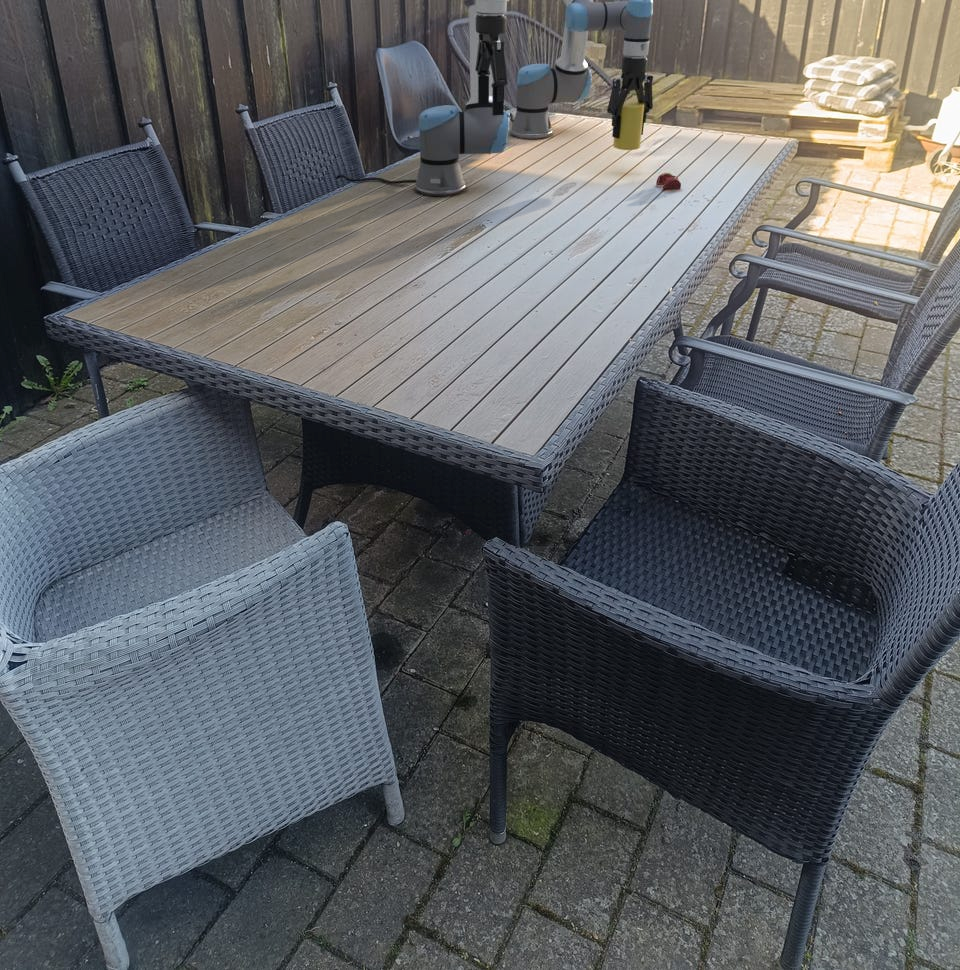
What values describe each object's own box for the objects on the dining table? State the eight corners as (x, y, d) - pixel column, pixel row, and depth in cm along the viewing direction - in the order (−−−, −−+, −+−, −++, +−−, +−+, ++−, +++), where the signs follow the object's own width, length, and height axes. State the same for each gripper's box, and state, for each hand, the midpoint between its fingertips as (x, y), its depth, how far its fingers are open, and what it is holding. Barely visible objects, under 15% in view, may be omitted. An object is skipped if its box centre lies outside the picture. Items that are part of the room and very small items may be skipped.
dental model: (672, 169, 261) (683, 176, 255) (671, 183, 263) (682, 190, 257) (655, 171, 260) (666, 178, 254) (654, 185, 262) (665, 192, 256)
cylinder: (609, 148, 267) (613, 105, 259) (618, 142, 273) (622, 100, 265) (634, 151, 264) (639, 108, 256) (643, 145, 270) (648, 102, 262)
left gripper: (521, 20, 193) (519, 119, 205) (492, 7, 212) (491, 98, 225) (490, 21, 191) (489, 120, 204) (463, 8, 211) (464, 99, 223)
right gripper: (613, 61, 246) (606, 142, 260) (671, 55, 254) (661, 134, 268) (598, 57, 252) (593, 137, 265) (655, 51, 260) (647, 129, 273)
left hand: (490, 109), depth 214 cm, fingers open, 13 cm apart
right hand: (627, 135), depth 266 cm, fingers closed on cylinder, 8 cm apart
